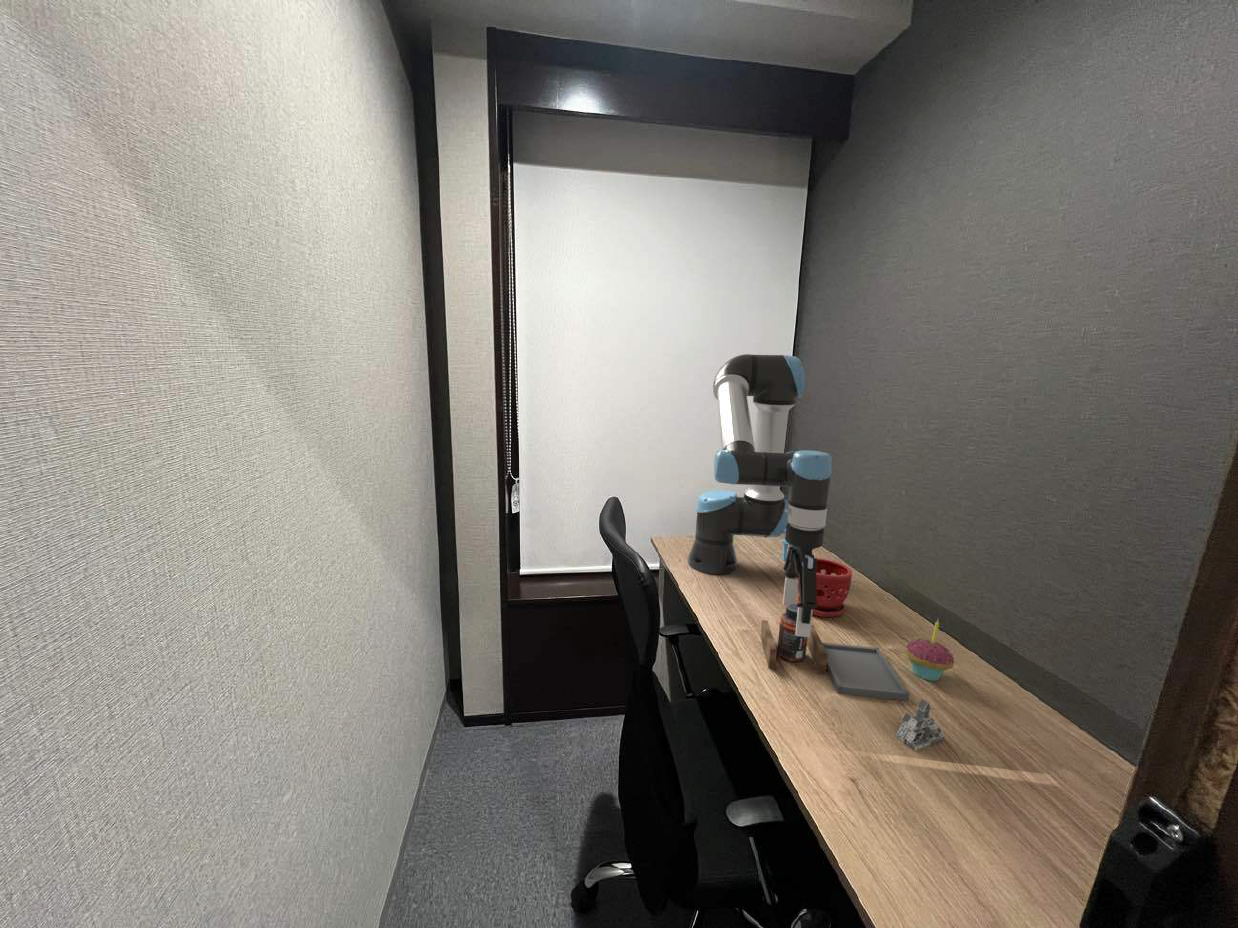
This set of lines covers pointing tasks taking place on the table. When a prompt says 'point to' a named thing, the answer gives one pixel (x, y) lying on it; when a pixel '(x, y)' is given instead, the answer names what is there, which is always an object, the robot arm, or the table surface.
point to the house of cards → (919, 728)
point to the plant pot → (831, 588)
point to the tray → (863, 672)
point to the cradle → (812, 643)
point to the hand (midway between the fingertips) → (795, 619)
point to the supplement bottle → (790, 636)
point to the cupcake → (929, 657)
